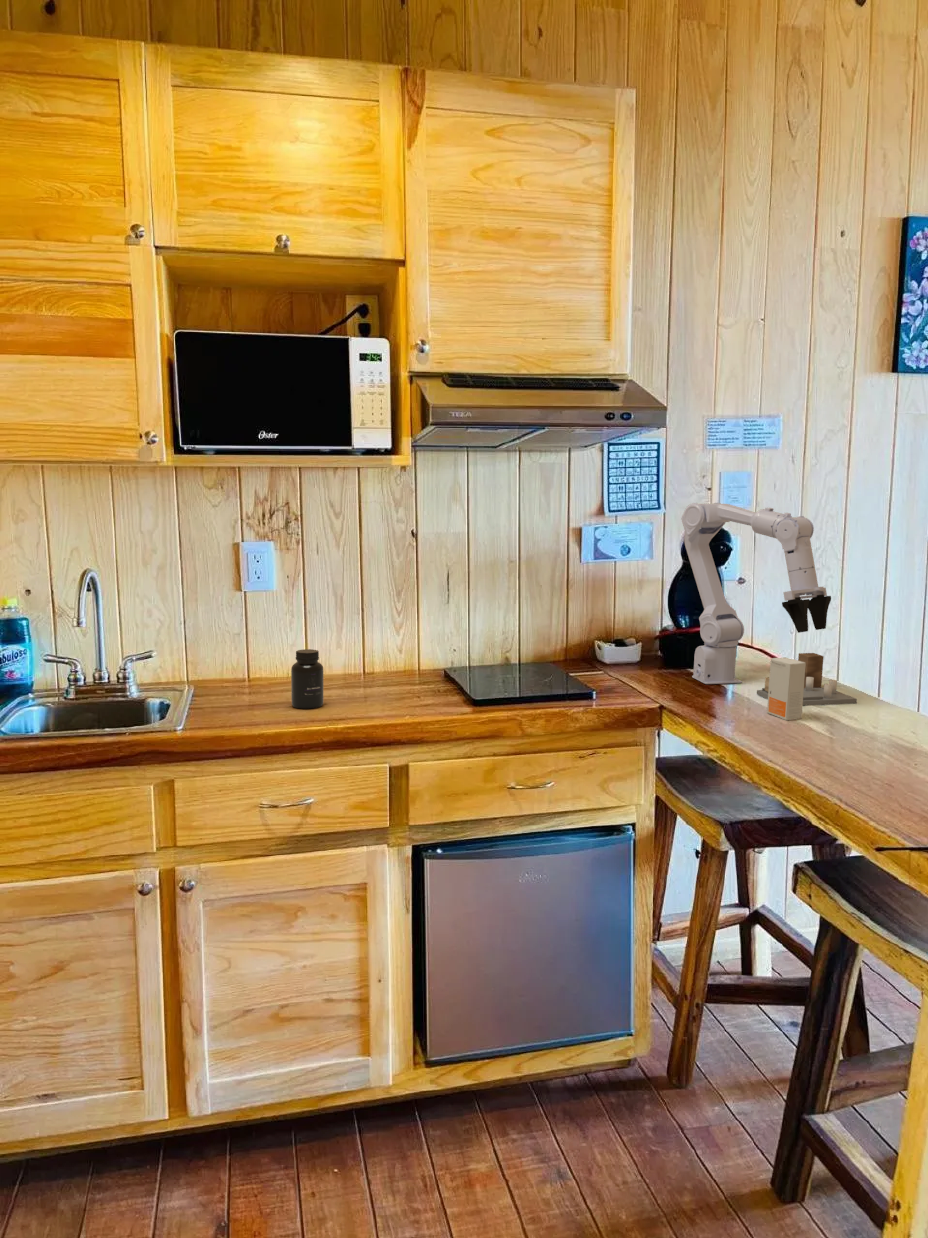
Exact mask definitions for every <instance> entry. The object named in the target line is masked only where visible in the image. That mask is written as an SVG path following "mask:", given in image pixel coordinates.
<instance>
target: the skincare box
mask: <svg viewBox="0 0 928 1238" xmlns="http://www.w3.org/2000/svg"><path fill="white" fill-rule="evenodd" d="M769 664H770V665H769V676H768V677H769V690H768V699H767V706H766V713H767V714H769V715H771V716H775V717H777V718H780V719H782V720H784V721H792V720H800V719H802V716H803V706H804V705H803V692H804V678H805V666H806V663H805V662H801V661H798V659H793V658H790V657H783V656H782V657H772V658H770V662H769Z"/></svg>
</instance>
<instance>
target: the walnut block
mask: <svg viewBox="0 0 928 1238" xmlns="http://www.w3.org/2000/svg"><path fill="white" fill-rule="evenodd" d="M797 660H798V661H801V662H805V663H806V666H805V678H804V688H806V677H813V678H814V682H813V688H822V683H823V682H822V681H823V669H824V655H821V654H818V653H815V652H802V653H801V652H799V653H798V657H797Z"/></svg>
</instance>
